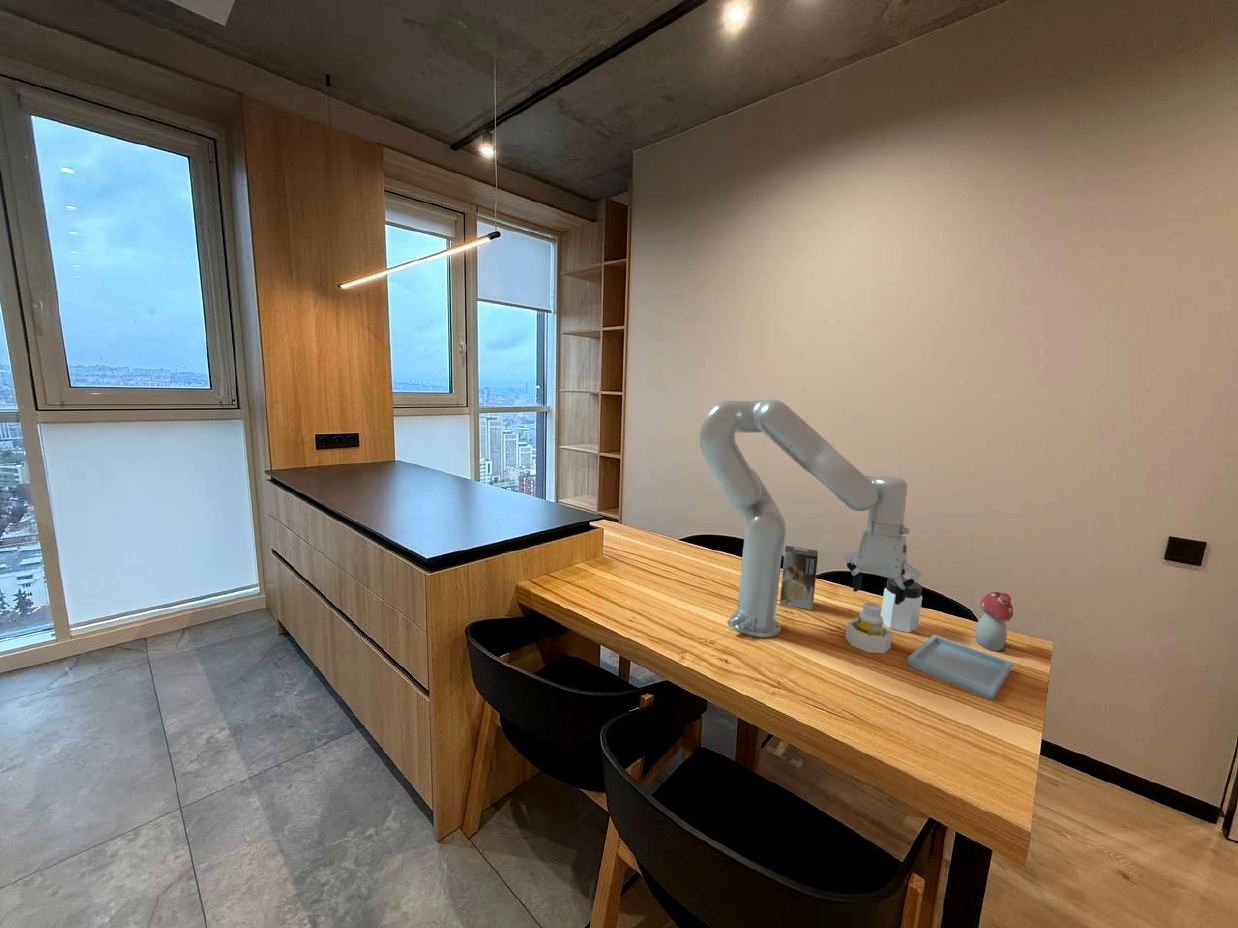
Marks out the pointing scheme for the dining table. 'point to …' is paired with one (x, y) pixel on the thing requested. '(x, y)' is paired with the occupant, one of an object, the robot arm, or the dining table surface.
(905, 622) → the jar
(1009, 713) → the dining table surface
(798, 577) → the coffee box
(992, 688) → the tray
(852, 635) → the bowl
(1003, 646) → the decorative ornament
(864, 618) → the supplement bottle
